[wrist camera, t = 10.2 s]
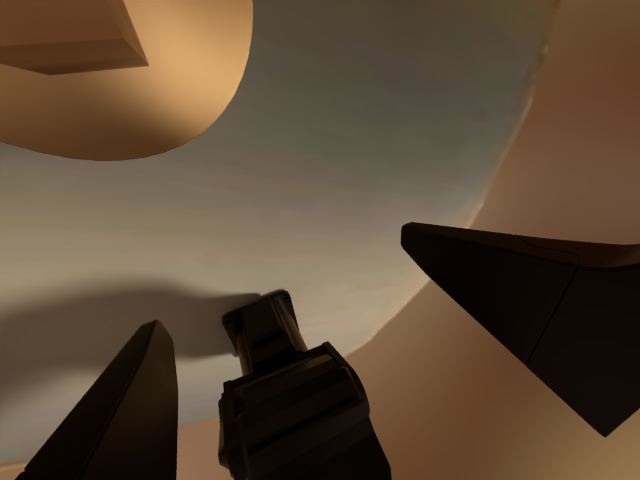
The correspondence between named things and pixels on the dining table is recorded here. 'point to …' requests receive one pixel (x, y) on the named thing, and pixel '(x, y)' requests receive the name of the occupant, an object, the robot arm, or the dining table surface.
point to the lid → (117, 73)
